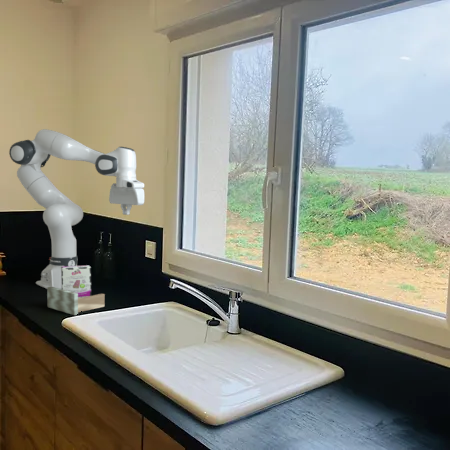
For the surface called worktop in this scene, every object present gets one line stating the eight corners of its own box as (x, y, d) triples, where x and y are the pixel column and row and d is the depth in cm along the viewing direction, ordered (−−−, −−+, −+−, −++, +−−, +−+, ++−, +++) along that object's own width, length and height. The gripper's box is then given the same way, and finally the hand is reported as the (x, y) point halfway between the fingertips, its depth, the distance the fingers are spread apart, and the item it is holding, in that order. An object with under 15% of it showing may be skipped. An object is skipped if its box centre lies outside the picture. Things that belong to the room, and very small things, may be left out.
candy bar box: (90, 304, 206) (90, 264, 205) (91, 307, 202) (91, 266, 200) (61, 306, 202) (60, 266, 201) (62, 309, 198) (61, 268, 196)
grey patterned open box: (47, 306, 202) (47, 287, 201) (81, 300, 214) (81, 281, 213) (74, 315, 190) (74, 294, 190) (108, 307, 203) (108, 287, 202)
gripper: (105, 183, 231) (105, 213, 232) (136, 184, 218) (135, 216, 219) (116, 183, 236) (116, 213, 237) (147, 184, 223) (146, 215, 224)
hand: (126, 214), depth 228 cm, fingers closed
